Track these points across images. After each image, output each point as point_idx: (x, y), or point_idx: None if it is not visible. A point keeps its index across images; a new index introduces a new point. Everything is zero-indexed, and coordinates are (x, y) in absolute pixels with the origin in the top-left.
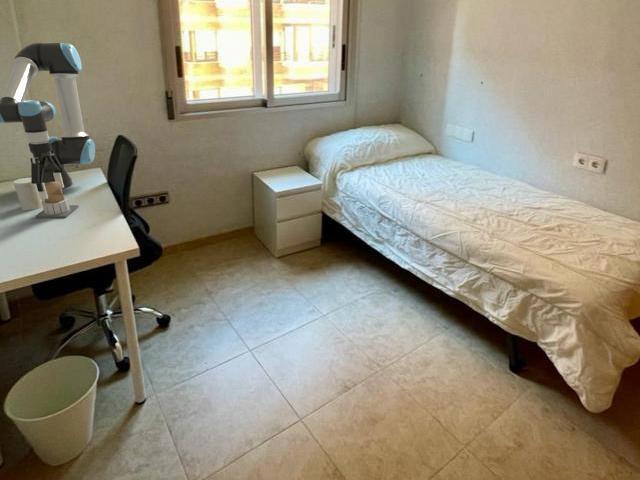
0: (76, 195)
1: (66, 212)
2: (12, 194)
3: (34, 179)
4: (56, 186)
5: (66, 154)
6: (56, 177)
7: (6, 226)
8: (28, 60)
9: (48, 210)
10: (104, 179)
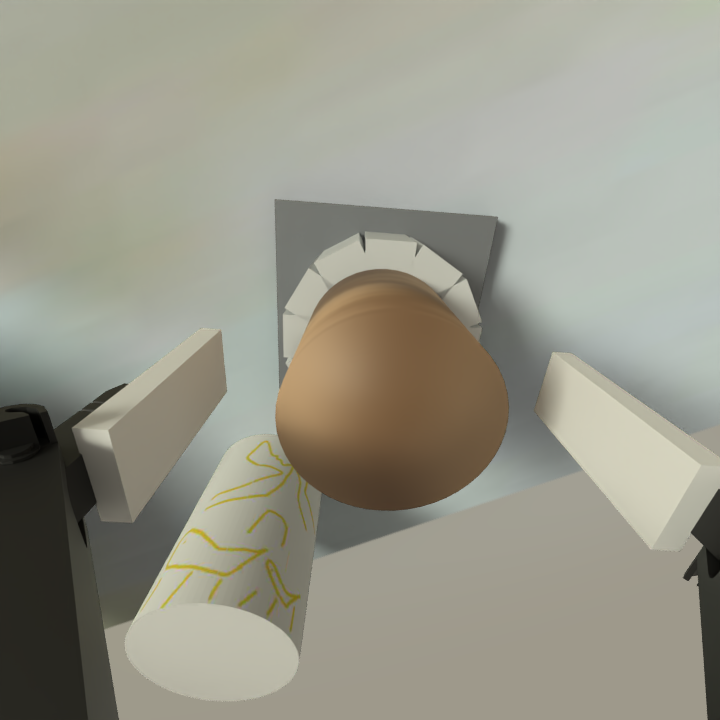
0: (38, 311)
1: (430, 233)
2: (109, 606)
3: None
4: (461, 329)
5: None
6: (165, 442)
7: (538, 481)
8: None
9: None
10: None
